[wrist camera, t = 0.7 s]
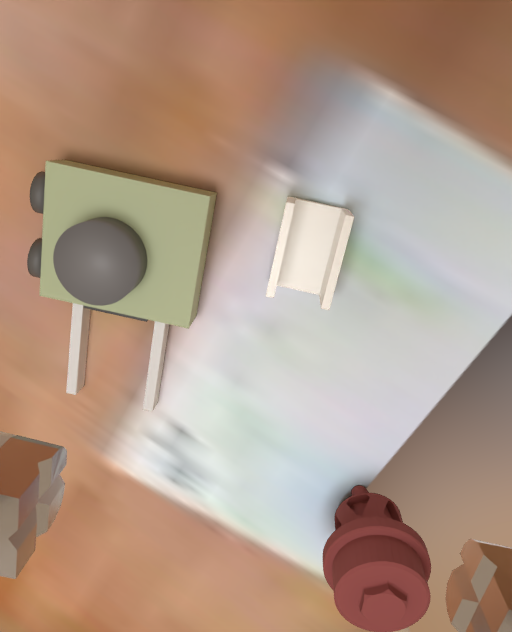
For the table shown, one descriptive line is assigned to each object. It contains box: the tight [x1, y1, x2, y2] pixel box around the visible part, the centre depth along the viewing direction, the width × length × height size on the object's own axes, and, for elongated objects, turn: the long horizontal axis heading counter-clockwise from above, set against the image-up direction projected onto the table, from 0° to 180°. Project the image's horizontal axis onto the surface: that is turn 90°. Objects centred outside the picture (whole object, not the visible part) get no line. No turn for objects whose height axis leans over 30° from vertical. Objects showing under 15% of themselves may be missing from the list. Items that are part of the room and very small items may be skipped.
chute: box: [266, 196, 354, 310], centre depth 42 cm, size 8×6×5 cm
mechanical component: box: [323, 485, 431, 632], centre depth 47 cm, size 12×10×10 cm
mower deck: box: [27, 160, 217, 412], centre depth 44 cm, size 22×15×6 cm
